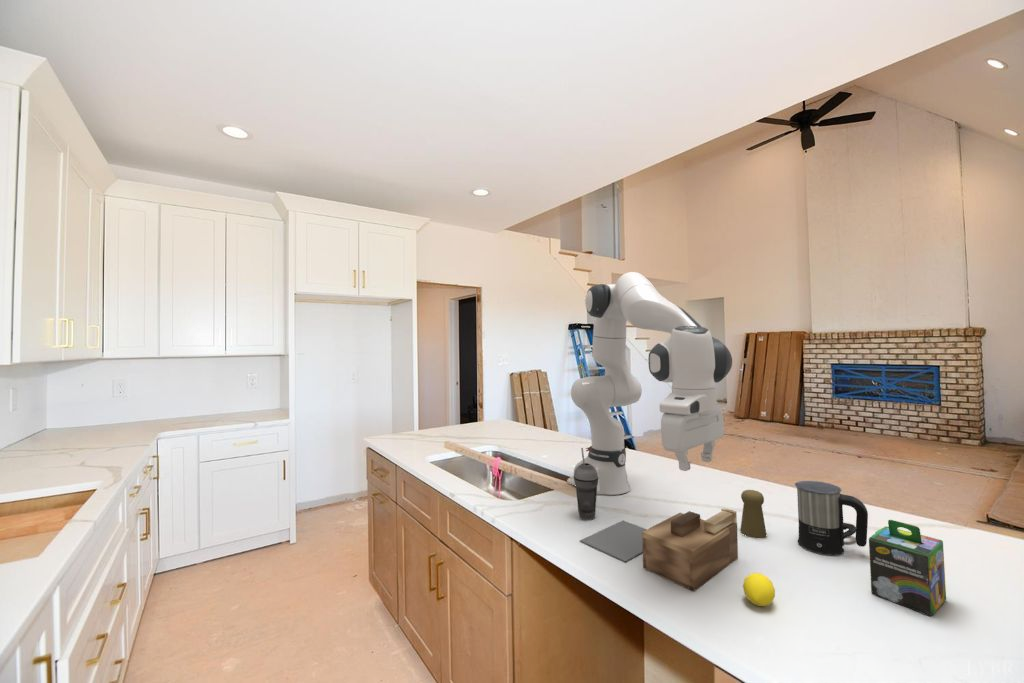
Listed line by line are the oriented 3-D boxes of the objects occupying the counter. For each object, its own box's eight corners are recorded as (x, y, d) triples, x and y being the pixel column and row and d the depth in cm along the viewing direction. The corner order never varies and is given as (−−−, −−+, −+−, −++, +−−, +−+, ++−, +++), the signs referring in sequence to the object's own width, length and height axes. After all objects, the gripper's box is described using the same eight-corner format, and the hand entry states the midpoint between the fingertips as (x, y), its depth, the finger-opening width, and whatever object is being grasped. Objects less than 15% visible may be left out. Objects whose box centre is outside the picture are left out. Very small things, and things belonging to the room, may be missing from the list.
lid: (642, 541, 97) (641, 519, 97) (680, 521, 107) (679, 501, 107) (693, 562, 87) (692, 537, 87) (729, 537, 97) (728, 515, 97)
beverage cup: (589, 524, 120) (587, 453, 120) (569, 517, 126) (567, 448, 126) (604, 517, 125) (603, 448, 125) (585, 510, 130) (583, 444, 130)
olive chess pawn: (770, 539, 109) (769, 496, 109) (744, 537, 110) (743, 494, 110) (761, 528, 115) (760, 487, 115) (737, 527, 116) (736, 486, 116)
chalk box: (947, 600, 82) (945, 523, 82) (932, 618, 77) (930, 536, 77) (885, 578, 90) (884, 508, 90) (868, 593, 85) (867, 519, 85)
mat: (580, 541, 110) (580, 540, 110) (623, 521, 121) (623, 520, 121) (625, 562, 99) (625, 561, 99) (668, 538, 111) (668, 537, 110)
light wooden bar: (702, 531, 96) (702, 519, 96) (723, 518, 102) (723, 507, 102) (716, 535, 94) (715, 523, 94) (736, 522, 100) (736, 511, 100)
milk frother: (802, 553, 102) (801, 490, 102) (785, 525, 116) (784, 470, 116) (876, 562, 97) (875, 496, 97) (849, 532, 112) (847, 475, 111)
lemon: (772, 618, 79) (771, 591, 79) (740, 607, 83) (738, 582, 82) (778, 595, 85) (777, 570, 84) (747, 586, 88) (746, 561, 87)
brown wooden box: (643, 568, 97) (642, 531, 97) (689, 540, 109) (688, 508, 109) (694, 591, 87) (693, 551, 87) (737, 558, 100) (737, 523, 100)
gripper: (703, 395, 101) (705, 453, 101) (654, 404, 88) (656, 472, 88) (730, 397, 96) (733, 458, 96) (683, 407, 84) (685, 478, 83)
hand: (696, 465), depth 92 cm, fingers open, 8 cm apart
